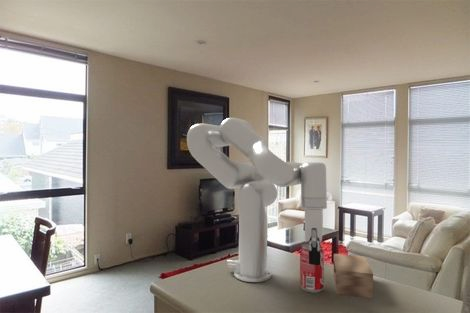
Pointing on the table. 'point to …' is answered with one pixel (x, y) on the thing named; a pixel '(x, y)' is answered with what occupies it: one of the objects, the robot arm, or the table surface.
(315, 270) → the soda can
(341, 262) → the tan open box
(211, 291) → the table surface
